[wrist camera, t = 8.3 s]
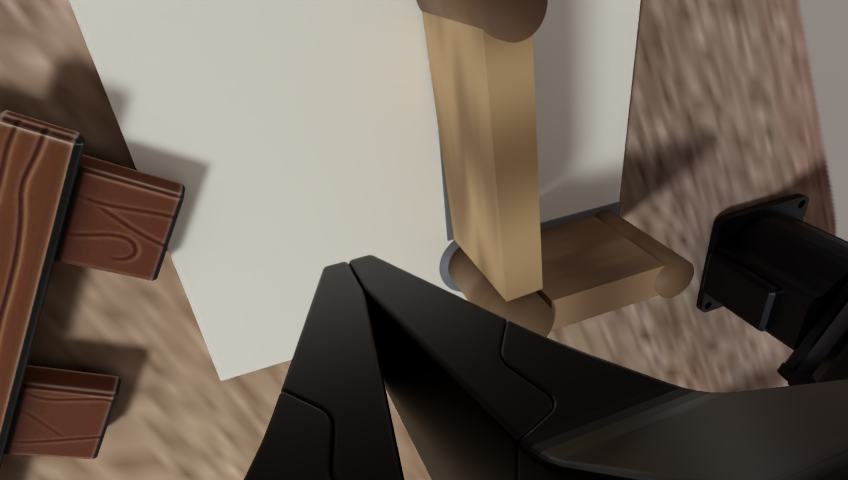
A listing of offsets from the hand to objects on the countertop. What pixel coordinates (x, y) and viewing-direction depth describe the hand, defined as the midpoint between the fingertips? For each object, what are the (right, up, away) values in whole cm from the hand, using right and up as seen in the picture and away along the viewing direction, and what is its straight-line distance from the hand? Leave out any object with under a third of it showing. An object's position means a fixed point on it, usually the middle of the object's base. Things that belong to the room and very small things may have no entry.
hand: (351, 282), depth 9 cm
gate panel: (+3, +6, +12) cm, 13 cm away
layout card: (+1, +5, +12) cm, 13 cm away
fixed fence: (+7, +1, +16) cm, 18 cm away
